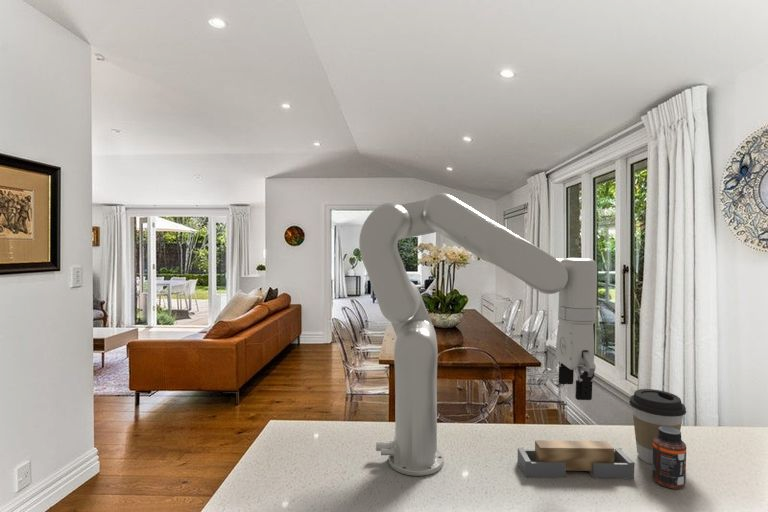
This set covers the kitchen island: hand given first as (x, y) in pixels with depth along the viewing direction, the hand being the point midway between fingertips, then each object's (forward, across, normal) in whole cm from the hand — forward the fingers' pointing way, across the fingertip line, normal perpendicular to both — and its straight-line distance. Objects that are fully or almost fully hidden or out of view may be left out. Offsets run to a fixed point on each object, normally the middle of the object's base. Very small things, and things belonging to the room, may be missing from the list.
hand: (574, 391), depth 98 cm
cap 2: (+18, 0, +8) cm, 19 cm away
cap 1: (+18, 0, -7) cm, 19 cm away
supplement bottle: (+18, +4, +18) cm, 26 cm away
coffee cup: (+18, -6, +21) cm, 28 cm away
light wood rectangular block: (+17, 0, 0) cm, 17 cm away
